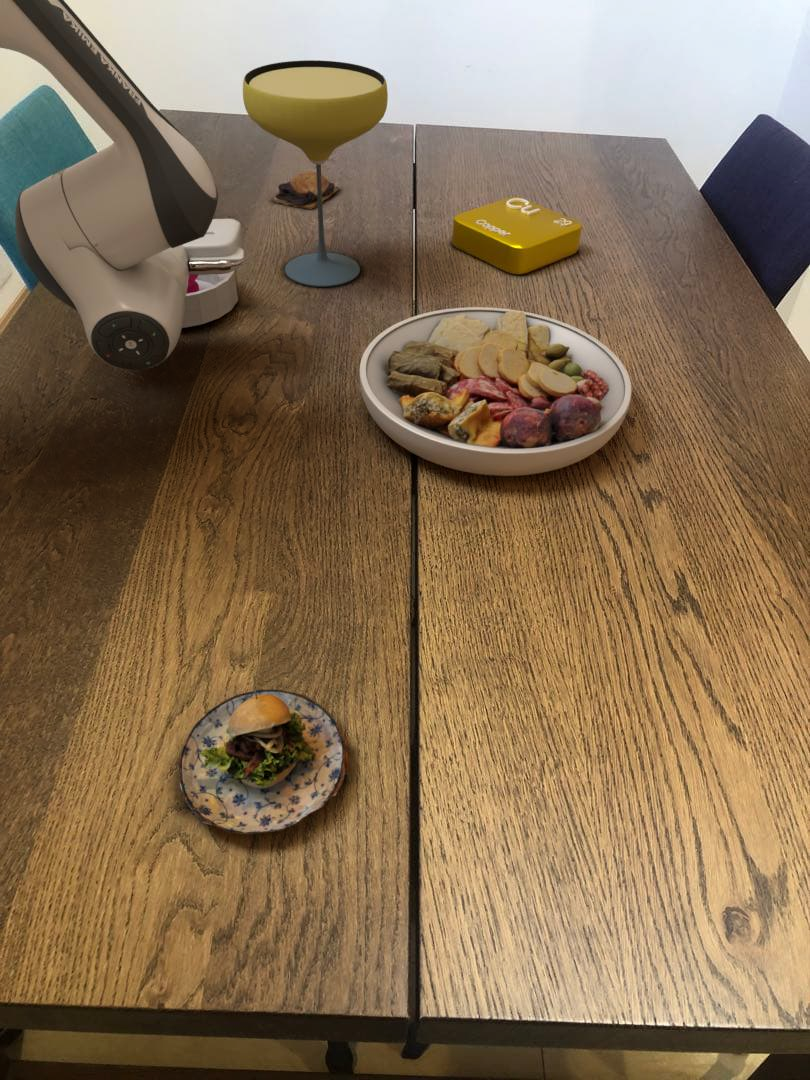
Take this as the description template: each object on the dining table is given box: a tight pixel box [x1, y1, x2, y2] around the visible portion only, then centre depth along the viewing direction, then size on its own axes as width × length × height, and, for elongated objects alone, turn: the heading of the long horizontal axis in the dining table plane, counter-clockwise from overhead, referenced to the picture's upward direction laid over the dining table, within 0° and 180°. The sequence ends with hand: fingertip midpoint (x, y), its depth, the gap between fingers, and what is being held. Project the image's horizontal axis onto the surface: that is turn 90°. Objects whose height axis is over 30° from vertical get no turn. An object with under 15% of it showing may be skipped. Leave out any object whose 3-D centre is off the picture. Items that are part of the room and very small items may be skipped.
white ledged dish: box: [182, 268, 239, 329], centre depth 108 cm, size 16×16×5 cm
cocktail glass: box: [242, 59, 389, 288], centre depth 110 cm, size 18×18×25 cm
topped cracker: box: [272, 170, 339, 210], centre depth 138 cm, size 11×8×4 cm
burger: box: [178, 676, 349, 835], centre depth 57 cm, size 12×12×8 cm
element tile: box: [451, 195, 583, 276], centre depth 125 cm, size 15×15×5 cm
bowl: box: [359, 306, 633, 477], centre depth 91 cm, size 30×30×8 cm
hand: (157, 218), depth 98 cm, fingers open, 8 cm apart
